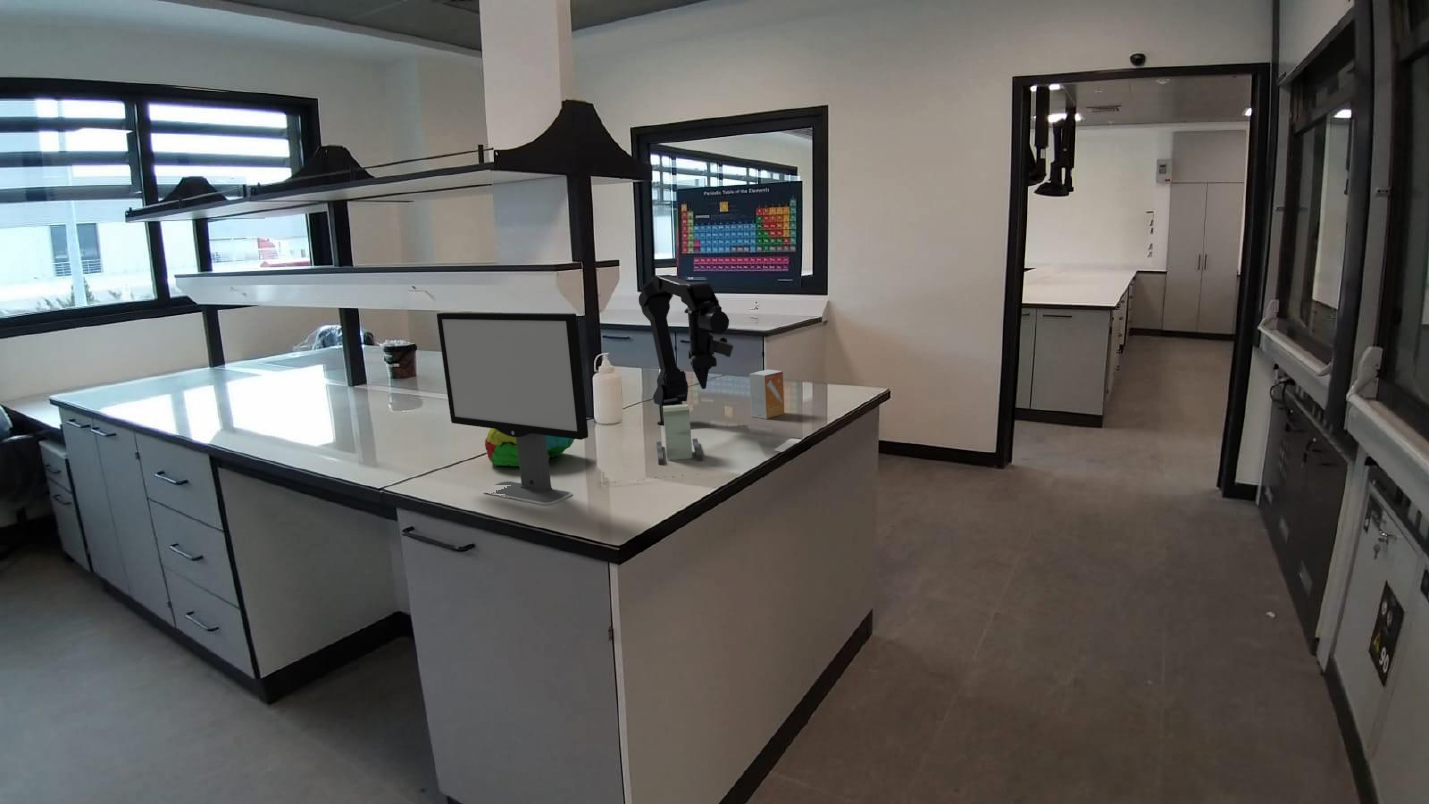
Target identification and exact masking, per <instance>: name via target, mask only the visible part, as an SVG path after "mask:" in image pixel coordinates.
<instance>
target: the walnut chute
mask: <svg viewBox="0 0 1429 804" xmlns="http://www.w3.org/2000/svg"><path fill="white" fill-rule="evenodd" d="M698 440H699V439H698V437H696V438H691V441H692V447H693V449H694V453H695V456H696V461H697V462H703V460H704V459H703V453H702V450H701V447H700V443H699V441H698ZM662 446H663V445H662V441H656V449H657V450H656V452H657V460H658V466H661V465H664V454H663V447H662Z"/></svg>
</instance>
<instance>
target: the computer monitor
mask: <svg viewBox="0 0 1429 804" xmlns="http://www.w3.org/2000/svg"><path fill="white" fill-rule="evenodd" d="M436 321H437V327H438V328H437V329H438V335H439V341H440V342H439V343H440V349H441V356H442V357H441V359H442V364H443V371H444V380H445V387H446V394H447V401H448V409H449V415H450V421H451V424H454V425H463V426H471V427H479V428H487V429H491V428H493V429H497V430H498V431H500V432H501V433H503V434H505V435H508V436H511V437H516V442H517V450H518V459H519V466H518V467H519V474H520V481H516V480H505V481H504V480H503V481H500V482H496V483H493V485H511V486H507V488H505V487H504V489H501V490H498V491H497V490H496V493H494V492H493V493H491V494H505V495H501V496H505V497H509V498H513V499H516V500H515V501H519V500H521V501H520V502H525V503H529V502H531V503H530V504H534V503H535V505H538V506H539V505H540V506H550V505H551V506H552V505H554V504H556V503H559V502H561V501H563V500H566V499H568V498H570V497H572V496H573V492H572V491H569V490H566V489H565V490H564V489H558V488H554V487H552V482H551V474H550V473H551V472H550V465H549V460H548V454H547V445H546V436H545V435H548V436H555V437H563V438H571V439H574V440H581V441H582V440H585V439H587V438H589V428H588V419H587V418H588V417H587V411H586V409H587V408H586V407H587V406H586V398H585V389H584V388H585V387H584V376H583V367H582V358H581V347H580V346H581V345H580V337H579V327H578V325H579V324H578V318H577V314H576V313H572V312H571V313H570V312H569V313H568V312H567V313H565V312H564V313H563V312H562V313H561V312H560V313H559V312H558V313H557V312H556V313H555V312H545V313H544V312H539V313H538V312H447V311H446V312H445V311H443V312H438V313H436ZM513 499H512V500H513Z"/></svg>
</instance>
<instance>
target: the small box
mask: <svg viewBox="0 0 1429 804" xmlns="http://www.w3.org/2000/svg"><path fill="white" fill-rule="evenodd" d="M749 391H750V392H749V393H750V412H751V414H750V416H751V417H753V418H758V419H766V420H768V419H771V418H775V417H778V416H782V415H785V395H784V393H785V392H784V391H785V390H784V371H783V370H777V369H764V370H759V371H756V372H752V373H749Z"/></svg>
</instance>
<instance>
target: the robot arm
mask: <svg viewBox="0 0 1429 804" xmlns="http://www.w3.org/2000/svg"><path fill="white" fill-rule="evenodd" d="M674 296H677V297H679V298H680V301H681V302H682V303H683V304H684V305H686V306H687V307H686V308H685V309H684V314H687V318H688V333H689V334H688V339H689V347H690V348H689V350H688V351H687V355H688V357H687V358H688V359H689V360H691V361H690V363H689V364H690V366H691V368H692V370H693V372H694V374H695V377H696V379H697V381H698V383H699V386H700V388H701V390H705V389H707V384H708V377H709V371H710V370H711V368H715V367H717V357H715V356H714V355H715V353H717V354H719V355H723V356H725V357H727V358H731V356H732V352H733V350H734V344H733V343H730V342H728V339H727V338H728V337H727V338H726V337H724V336H720V337H719V338H714V335H712V334H718V335H719V334H723V333H725V332H726V331H727V330H728V328H729V326H730V319H729V316H728V315H727V314H726V313H725V312H724V311H722V309H723V308H722V306H721V305H720V301H719V299H718V297H717V295H716V294H715V292H714V290H713V288H712V286H711V284H710V282H707V281H701V282H689V281H687V280H684V279H680V278H678V277H675V276H673V275H671V274H662V275H659V274H658V275H657V276H654V277H653V279H652V281H651V282H650V283H648V284H647V285H645V286H644V287H643V288H642V290H641V292H640V293H639V295H638V305H639V306H640V309H641V312H642V314H643V315H644V317H645V318H646V319H647V320H648V321H649V322H650V328H651V332H652V338H653V340H654V341H653V343H654V346H655V351H656V356H657V360H658V365H659V370H660V371H659V374H658V376H657V379H656V383H657V386H656V389H655V391H654V393H653V395H652V398H653V403H654V404H655V405H659V406H658V407H659V408H658V409H659V417H660V418H659V420H660V421H657V423H656V424H657V425H663V426H664V414H663V406H670V405H682V404H683V402H687V400H688V396H689V395H688V394H689V393H688V392H689V384H688V381H687V376H686V372H685V371H684V370H681V369H679V367H678V366H677V361H676V356H675V352H674V347H673V346H674V345H673V343H672V337H671V333H670V329H669V323H668V318H667V317H668V315H669V312H670V310H671V306H670V305H671V303H670V302H671V300H672V299H673V297H674Z"/></svg>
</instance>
